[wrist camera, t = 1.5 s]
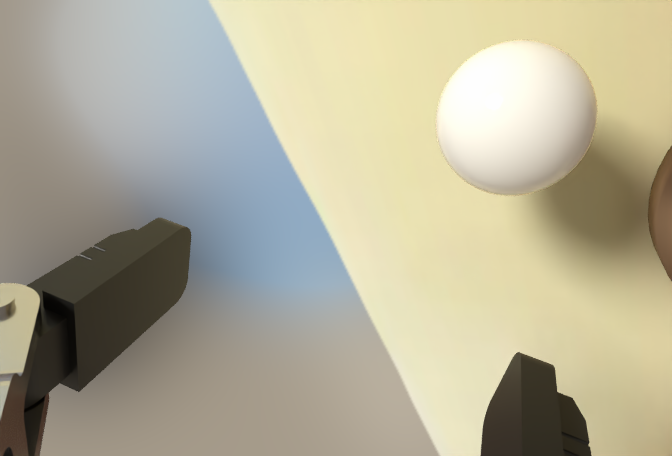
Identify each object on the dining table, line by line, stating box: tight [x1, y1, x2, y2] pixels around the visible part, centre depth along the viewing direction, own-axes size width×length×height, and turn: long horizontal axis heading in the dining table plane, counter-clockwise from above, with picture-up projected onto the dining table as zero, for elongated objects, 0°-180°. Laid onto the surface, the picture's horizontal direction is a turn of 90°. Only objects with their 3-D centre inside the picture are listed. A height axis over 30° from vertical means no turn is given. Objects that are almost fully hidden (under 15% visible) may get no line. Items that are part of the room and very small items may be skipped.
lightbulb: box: [436, 40, 598, 196], centre depth 23 cm, size 6×6×11 cm
